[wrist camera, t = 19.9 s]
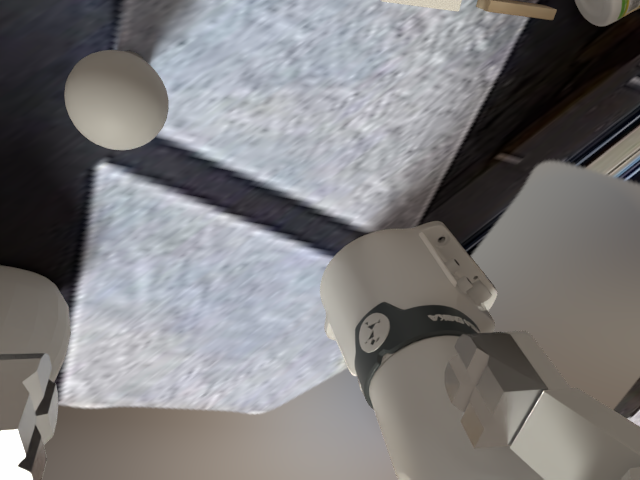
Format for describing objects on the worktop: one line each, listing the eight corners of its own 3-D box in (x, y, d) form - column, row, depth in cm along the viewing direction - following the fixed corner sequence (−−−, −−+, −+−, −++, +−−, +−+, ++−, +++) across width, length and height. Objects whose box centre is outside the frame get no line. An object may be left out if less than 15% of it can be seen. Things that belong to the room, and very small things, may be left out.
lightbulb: (158, 15, 37) (146, 56, 28) (182, 95, 40) (179, 154, 32) (74, 30, 36) (34, 78, 27) (106, 111, 40) (80, 175, 31)
